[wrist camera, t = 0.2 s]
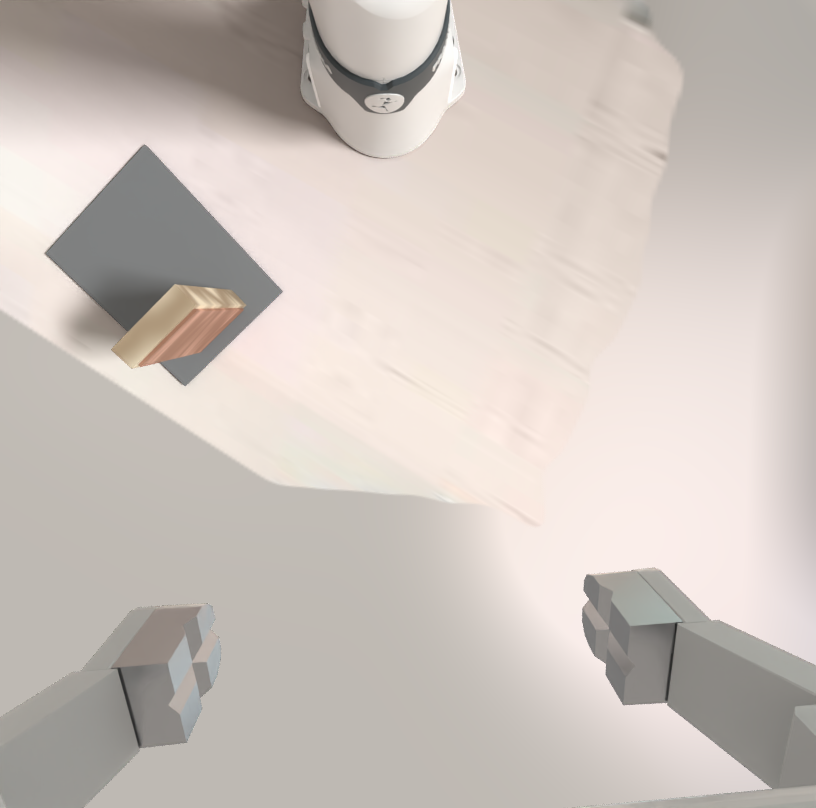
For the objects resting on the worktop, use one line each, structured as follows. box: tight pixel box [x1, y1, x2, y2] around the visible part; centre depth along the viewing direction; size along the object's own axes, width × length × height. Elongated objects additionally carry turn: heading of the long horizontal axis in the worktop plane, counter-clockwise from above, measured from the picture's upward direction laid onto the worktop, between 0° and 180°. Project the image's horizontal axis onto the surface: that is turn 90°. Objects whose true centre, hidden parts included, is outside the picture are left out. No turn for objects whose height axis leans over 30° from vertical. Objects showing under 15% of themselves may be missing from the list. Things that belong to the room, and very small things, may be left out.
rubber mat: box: [46, 144, 283, 386], centre depth 52 cm, size 22×18×1 cm
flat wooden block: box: [111, 284, 246, 369], centre depth 46 cm, size 3×9×14 cm, turn 132°
